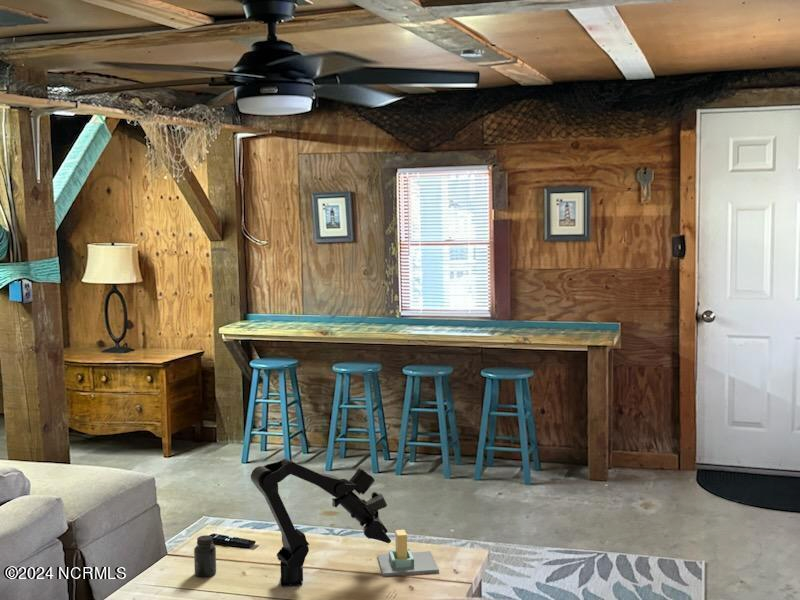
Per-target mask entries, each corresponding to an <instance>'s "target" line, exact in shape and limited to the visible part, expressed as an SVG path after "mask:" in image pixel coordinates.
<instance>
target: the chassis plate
mask: <svg viewBox="0 0 800 600" xmlns="http://www.w3.org/2000/svg"><path fill="white" fill-rule="evenodd" d="M376 557H377V560H378V561H377V562H378V564H379V567H380V571H381V574H382V577H391V576H392V577H393V576H406V575H407V576H408V575H424V574H425V573H426V574H435V573H436V574H439V573H440V569H439V567H438V564H437V562H436V560H435V558H434V556H433V554H432V552H431V550H427V551H413V552H412V551H411V548H407V559H396V549H392V550H391V549H389V550H388V553H380V554H379V553H377V556H376Z"/></svg>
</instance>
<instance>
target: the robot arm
mask: <svg viewBox="0 0 800 600" xmlns="http://www.w3.org/2000/svg"><path fill="white" fill-rule="evenodd" d="M290 475H291V476H294V477H296V478H299V479H301V480H304V481H306V482H309V483H311V484H312V485H315V486H317V487H318V488H320V490H321V489H322V490H323V491H324V492H325V493H327V494H329V495H330V496H332V497H334V498H331V500H332V503H331V504H332V505H331V506H332V507H333V508H338V506H339V505H340V506H341V507H342V508H343V509H344V510H345V511H346V512H348V513H349V514H350V517H351V518H352V519H355V521H357V522H358V523H359V526H361V527H362V528H363V529H362V530H363V535H364V536H365V537H366V538H367V539H371V540H372V539H373V540H376V541H379V542H383V543H387V544H390V543H391V542H392V540H391V538H390V537H389V536H388V534H387V533H388V529H387V527H385V525H384V523H383V521H382V520H381V519H380V517H379V510H382V509H384V508H386V507H387V506H388V503H387V501H386V499H385V497H384V495H383V494H382V493H378V492H376V491H374V492H372V493H371V495H370V496H371V497H369V500H367V501H366V500H365V499H363V498H362V499H361V498H360V497H359V496H360V495H365V494H366V493H367V492H368V490H369V489H370V488H371V486H372V485H374V483H375V481H376V480H375V478H374V477H373V476H372V475H370V474H369V473H368V472H366V471H364V470H363V468H360V467H358V469H357V470H356V472H355V473H354V474H353V476H352V477H351V478H350V479H349V480H348V479H347V478H339V477H338V476H336V475H331V474H327V473H320V472H317V471H315V470H314V469H313V470H312V469H310V468H308V467H305V466H304V465H301V464H299V463H297V462H294V461H293V460H291V459H290V458H283V459H281V460H278V461H276V462H270V463H268V464H265V465H259V466H256V467H255V468H254V469H252V472H251V474H250V480H251V482H252V483H253V485H254V486H255V487H256V488H257V490H258V491H259V492H260V493H261V495H263V497H264V499H265V501H266V503H267V505H268V507H269V509H270V512H271V514H272V516H273V518H274V520H275V522H276V525H277V526H278V529H279V531H280V533H281V542H282V547H281V548H280V549H279V551H278V552H277V553H276V557H277V560H278V561H279V562H280V587H293V586H295V587H296V586H302V584H303V583H302V582H303V581H304V563H305V560H306V557H307V556H308V553H309V551H310V549H309V546H310V543H309V542H308V541H307V538H306V534H305V533H304V532H302V530H300V529H298V528H295V526H294V524H293V521H292V519H291V517H290V515H289V513H288V511H287V509H286V507H285V505H284V504H285V503H284V502H283V500H282V498H281V495H280V494H279V483H280V482H282V481H283V480H285V479H286V478H287V477H288V476H290ZM358 495H359V496H358Z"/></svg>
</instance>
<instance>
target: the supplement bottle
mask: <svg viewBox="0 0 800 600" xmlns="http://www.w3.org/2000/svg"><path fill="white" fill-rule="evenodd" d="M213 543H214V541H213V537H212V536H211V535H208V534H207V535H200V536H198V537H196V546H195V547H194V549H193V550H194V551H193V552H194V554H193V556H194V557H193V559H194V560H193V561H194V562H193V563H194V565H193V567H194V575H195V576H196V577H197V578H202V579H205V578H206V577H207V578H211V577H213V576H215V575H216V574H217V548H216V546H215V545H214V544H213ZM207 578H206V579H207Z"/></svg>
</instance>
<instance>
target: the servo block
mask: <svg viewBox="0 0 800 600" xmlns="http://www.w3.org/2000/svg"><path fill="white" fill-rule="evenodd" d="M394 532H395V550H396V559H407V549H408V534H407V532H406V530H405V529H396V530H395V531H394Z"/></svg>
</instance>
